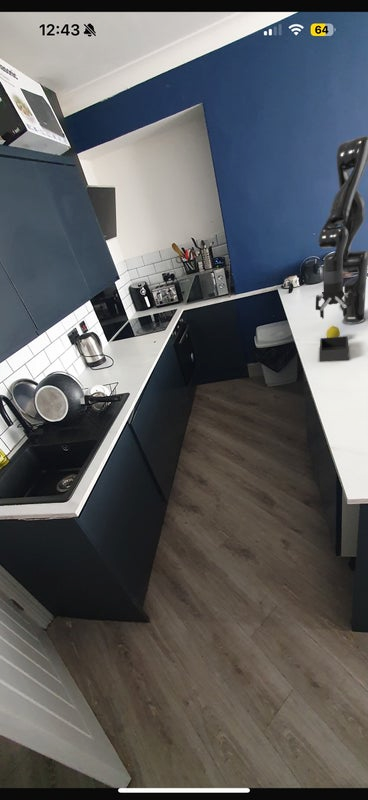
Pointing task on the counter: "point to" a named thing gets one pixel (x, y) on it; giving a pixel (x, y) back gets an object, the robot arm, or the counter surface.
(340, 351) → the tote
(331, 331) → the lemon
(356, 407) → the counter surface
